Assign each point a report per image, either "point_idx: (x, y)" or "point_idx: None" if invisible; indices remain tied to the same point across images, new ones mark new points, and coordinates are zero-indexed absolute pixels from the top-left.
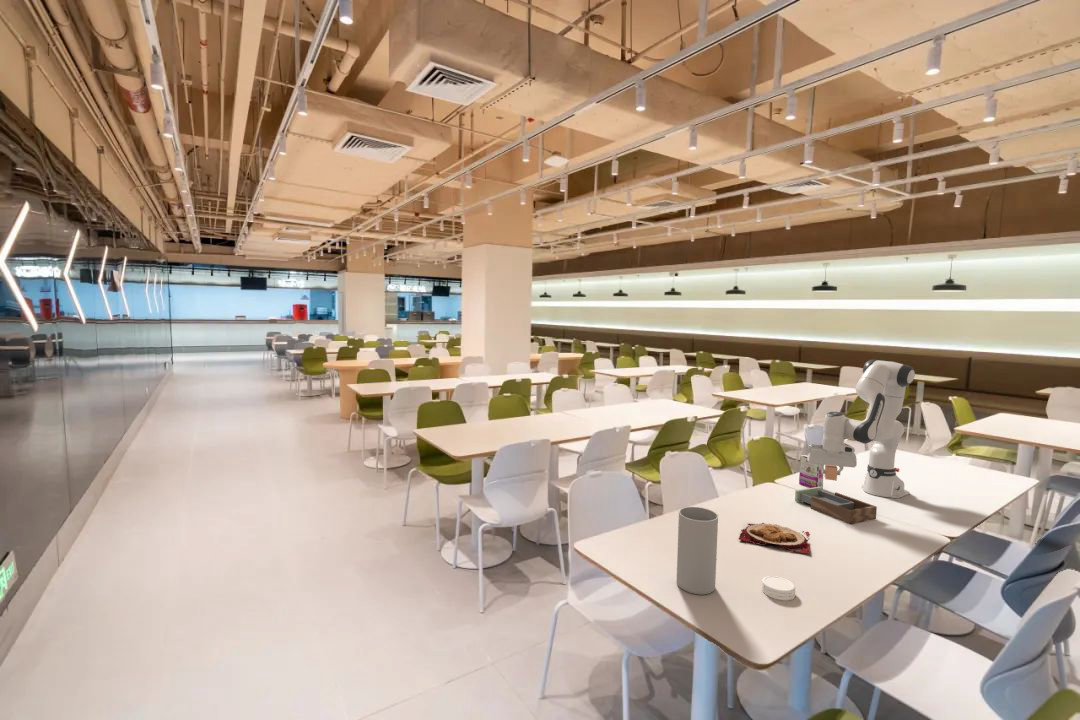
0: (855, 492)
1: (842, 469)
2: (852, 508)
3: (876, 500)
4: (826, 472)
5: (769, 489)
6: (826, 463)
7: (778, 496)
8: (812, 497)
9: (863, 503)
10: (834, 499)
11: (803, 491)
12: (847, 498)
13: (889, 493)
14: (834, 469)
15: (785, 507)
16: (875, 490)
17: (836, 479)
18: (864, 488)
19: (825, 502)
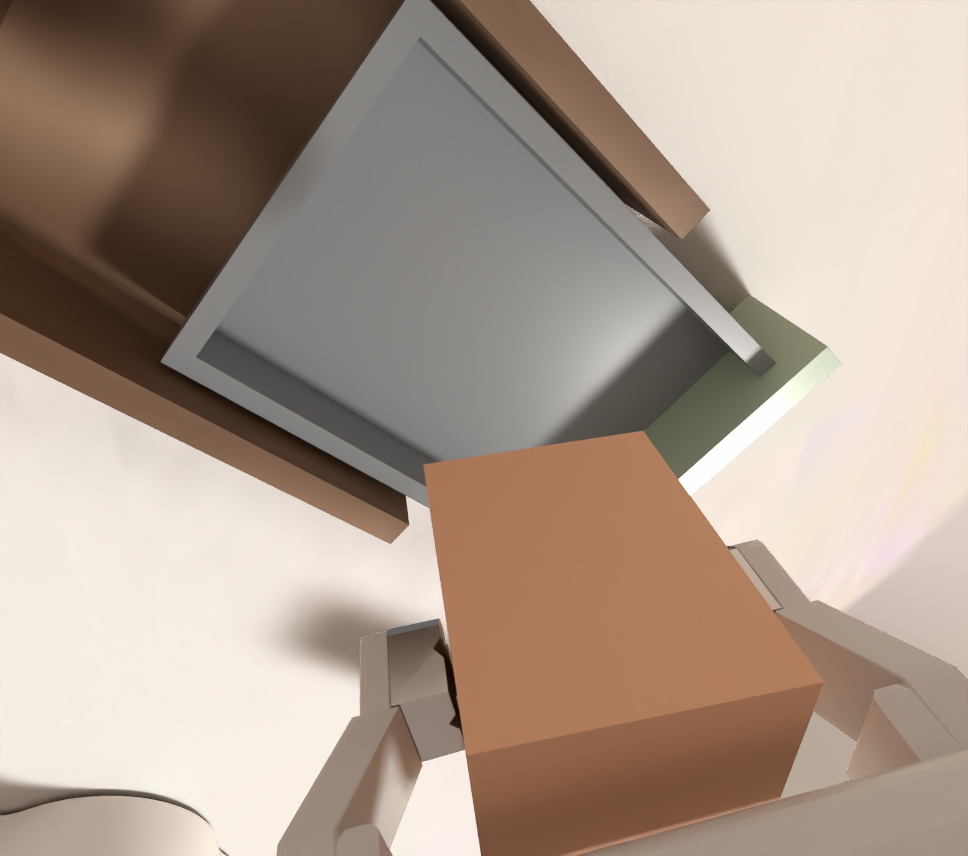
0: (259, 774)
1: (306, 807)
2: (194, 305)
3: (82, 718)
4: (712, 541)
5: (878, 511)
6: (918, 834)
7: (864, 384)
8: (695, 197)
9: (6, 311)
10: (402, 450)
11: (735, 412)
12: (256, 434)
13: (1, 848)
14: (550, 684)
15: (918, 45)
16: (107, 839)
17: (431, 481)
18: (203, 844)
19: (546, 21)
